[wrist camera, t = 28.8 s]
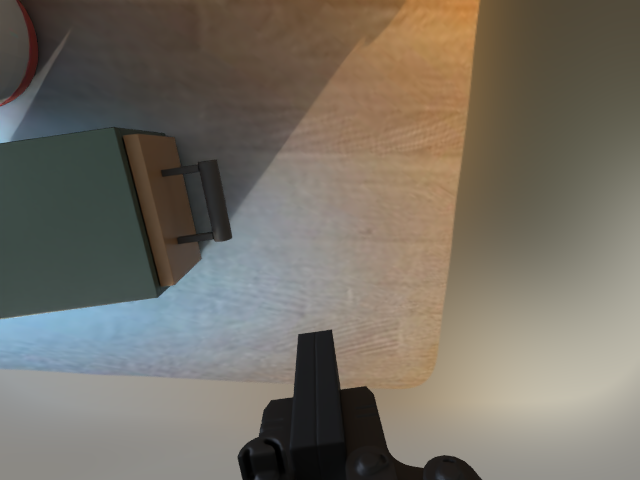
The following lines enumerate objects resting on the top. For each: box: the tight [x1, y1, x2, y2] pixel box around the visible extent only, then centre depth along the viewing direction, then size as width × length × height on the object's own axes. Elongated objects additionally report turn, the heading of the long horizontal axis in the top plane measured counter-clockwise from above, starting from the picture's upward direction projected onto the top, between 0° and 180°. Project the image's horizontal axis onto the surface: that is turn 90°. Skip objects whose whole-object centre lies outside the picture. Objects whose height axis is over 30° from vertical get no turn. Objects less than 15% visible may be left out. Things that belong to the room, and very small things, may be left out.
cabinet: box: [0, 127, 170, 319], centre depth 34 cm, size 17×14×10 cm
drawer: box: [123, 134, 232, 287], centre depth 34 cm, size 20×12×8 cm, turn 98°
